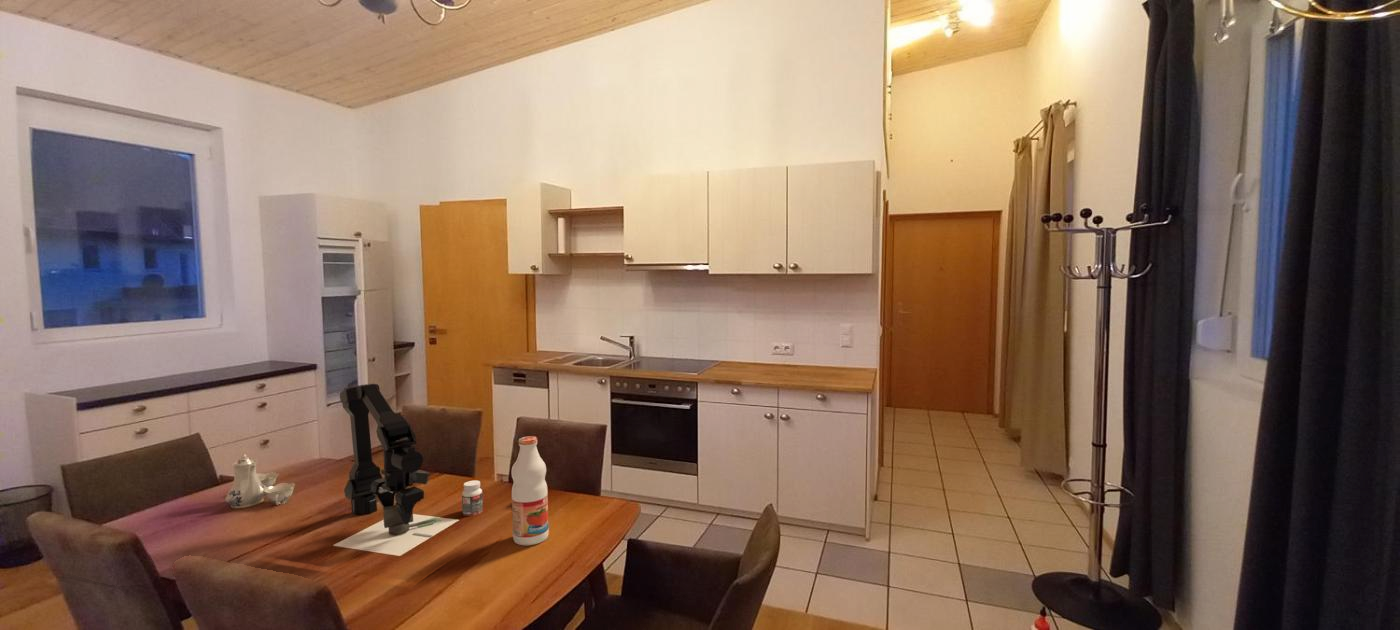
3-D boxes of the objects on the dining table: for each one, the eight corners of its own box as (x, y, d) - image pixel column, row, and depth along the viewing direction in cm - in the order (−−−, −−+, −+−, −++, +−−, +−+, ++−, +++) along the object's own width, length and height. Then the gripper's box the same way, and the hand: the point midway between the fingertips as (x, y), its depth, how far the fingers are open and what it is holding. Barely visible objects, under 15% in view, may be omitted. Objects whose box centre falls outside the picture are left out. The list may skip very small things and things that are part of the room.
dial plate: (333, 549, 149) (332, 544, 149) (398, 515, 170) (398, 511, 170) (400, 559, 143) (399, 555, 143) (459, 523, 164) (459, 519, 164)
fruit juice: (526, 528, 160) (523, 432, 158) (555, 533, 157) (552, 435, 155) (505, 543, 151) (502, 442, 149) (536, 548, 148) (532, 444, 146)
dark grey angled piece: (385, 537, 153) (384, 512, 152) (383, 531, 157) (382, 506, 156) (437, 525, 160) (436, 500, 160) (434, 519, 164) (433, 495, 164)
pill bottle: (475, 519, 167) (474, 487, 166) (458, 518, 168) (457, 485, 167) (486, 511, 172) (485, 480, 172) (470, 510, 173) (469, 479, 173)
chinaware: (305, 505, 183) (308, 454, 183) (243, 519, 169) (246, 463, 169) (269, 489, 198) (272, 442, 198) (208, 500, 184) (212, 449, 184)
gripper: (441, 463, 156) (443, 517, 157) (408, 451, 168) (410, 502, 169) (400, 475, 148) (403, 532, 149) (368, 461, 159) (371, 515, 160)
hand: (398, 519), depth 157 cm, fingers open, 9 cm apart
